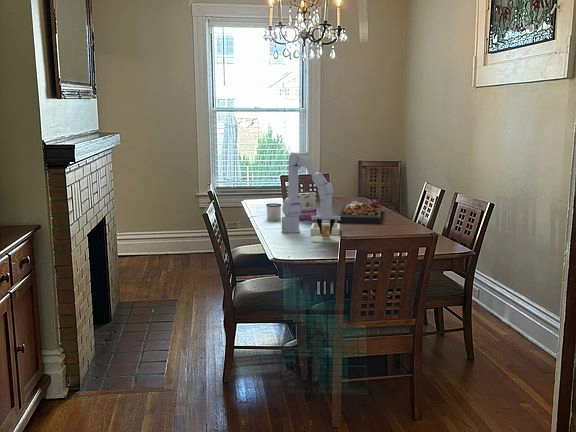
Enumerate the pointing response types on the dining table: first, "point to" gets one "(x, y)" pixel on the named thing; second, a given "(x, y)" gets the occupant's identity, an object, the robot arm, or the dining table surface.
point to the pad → (325, 239)
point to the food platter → (360, 213)
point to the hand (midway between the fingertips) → (325, 233)
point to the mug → (273, 211)
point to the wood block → (326, 230)
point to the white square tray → (316, 230)
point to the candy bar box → (307, 206)
